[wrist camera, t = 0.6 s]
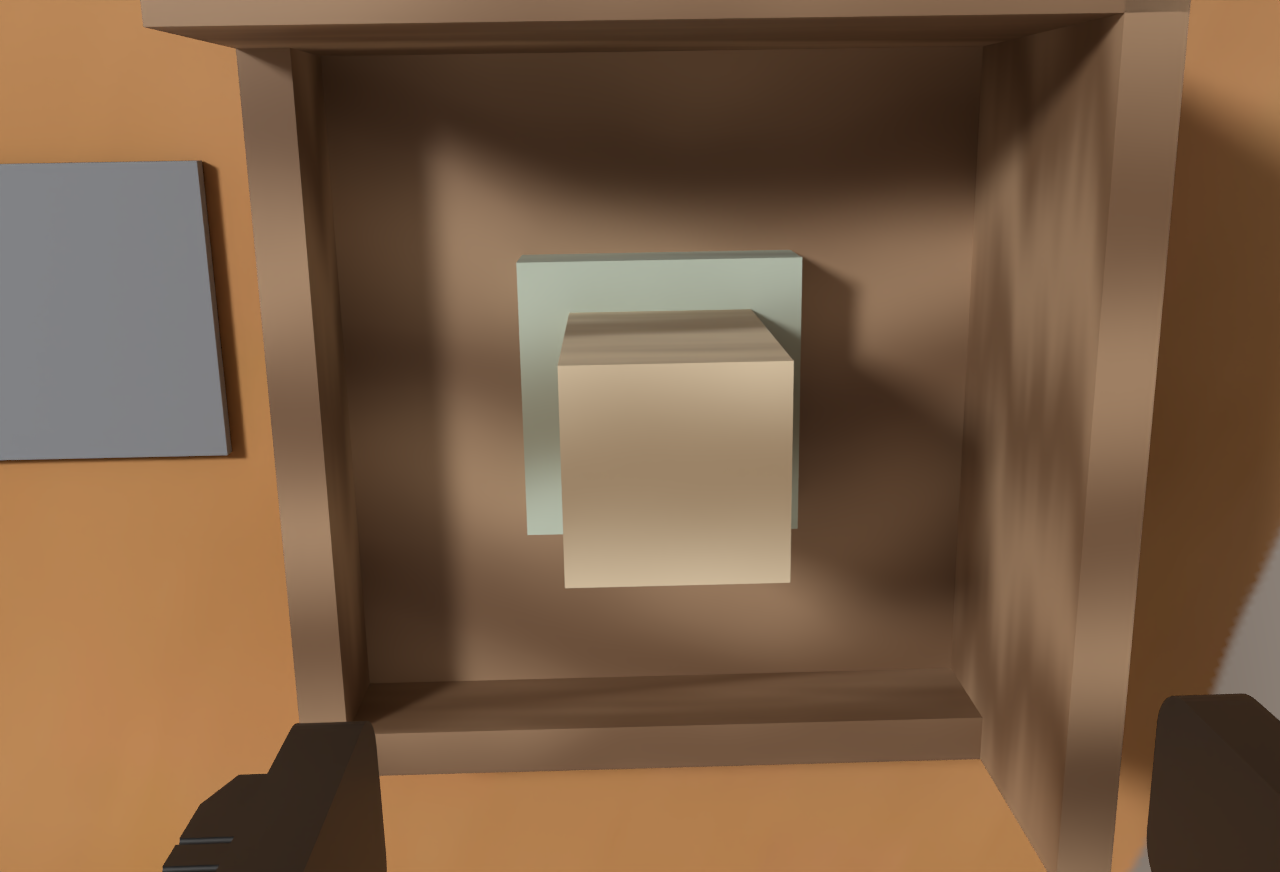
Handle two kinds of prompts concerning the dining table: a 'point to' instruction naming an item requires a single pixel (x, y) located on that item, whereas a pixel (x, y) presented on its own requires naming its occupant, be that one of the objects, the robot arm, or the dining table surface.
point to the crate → (719, 280)
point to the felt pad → (108, 313)
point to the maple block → (675, 449)
